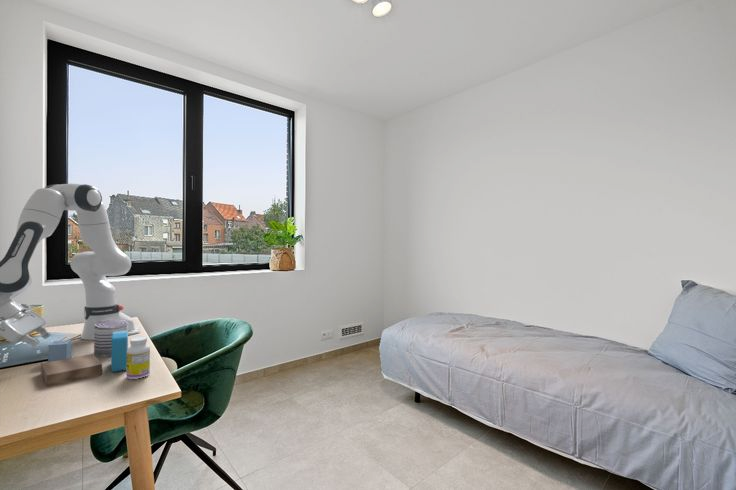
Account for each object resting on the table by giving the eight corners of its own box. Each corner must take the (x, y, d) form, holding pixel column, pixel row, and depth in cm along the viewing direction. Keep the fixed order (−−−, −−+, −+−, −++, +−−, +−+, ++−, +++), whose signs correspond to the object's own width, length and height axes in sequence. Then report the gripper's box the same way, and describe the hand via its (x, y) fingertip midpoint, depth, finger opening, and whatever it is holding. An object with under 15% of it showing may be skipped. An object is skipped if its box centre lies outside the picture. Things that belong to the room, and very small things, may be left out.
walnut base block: (92, 364, 129) (93, 354, 129) (102, 375, 120) (102, 364, 120) (41, 375, 119) (41, 363, 119) (46, 388, 110) (46, 375, 109)
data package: (112, 362, 131) (113, 330, 131) (127, 360, 133) (128, 329, 133) (111, 373, 121) (111, 339, 121) (127, 371, 123) (127, 337, 123)
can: (118, 345, 150) (118, 317, 150) (134, 350, 145) (135, 321, 145) (87, 353, 140) (87, 323, 140) (104, 358, 135) (104, 327, 135)
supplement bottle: (128, 373, 121) (129, 336, 121) (151, 371, 124) (151, 335, 123) (124, 381, 115) (124, 342, 115) (147, 378, 118) (148, 340, 117)
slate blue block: (54, 361, 131) (54, 341, 130) (71, 359, 133) (71, 339, 133) (48, 366, 126) (48, 345, 126) (66, 364, 128) (66, 343, 128)
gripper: (-1, 314, 114) (38, 341, 118) (29, 303, 133) (61, 327, 137) (-20, 329, 113) (20, 356, 117) (13, 315, 131) (46, 339, 135)
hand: (43, 340), depth 127 cm, fingers open, 8 cm apart
